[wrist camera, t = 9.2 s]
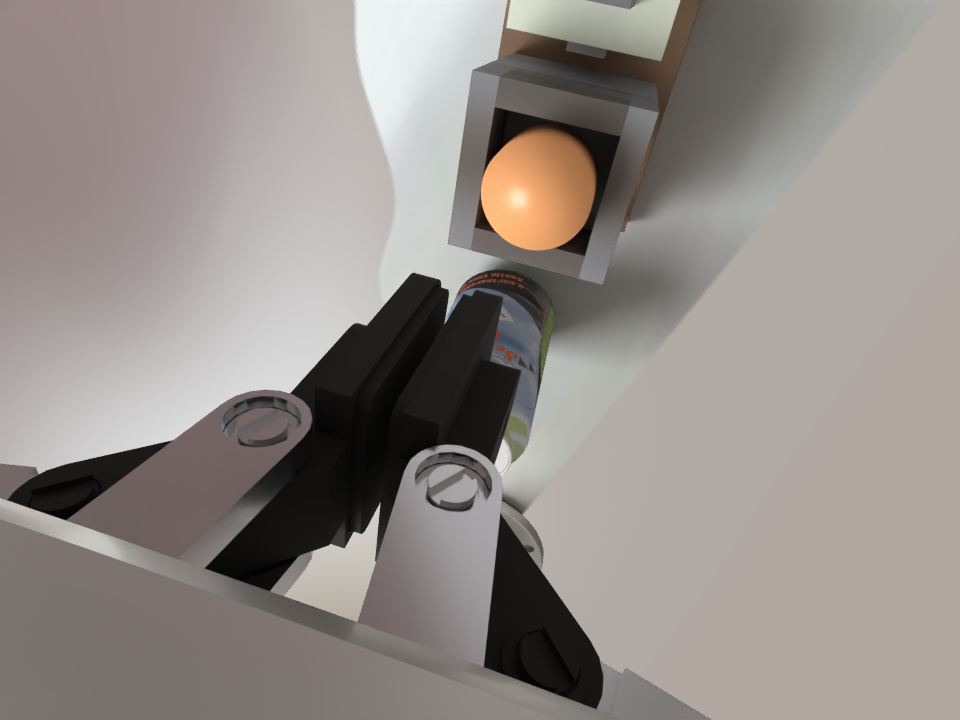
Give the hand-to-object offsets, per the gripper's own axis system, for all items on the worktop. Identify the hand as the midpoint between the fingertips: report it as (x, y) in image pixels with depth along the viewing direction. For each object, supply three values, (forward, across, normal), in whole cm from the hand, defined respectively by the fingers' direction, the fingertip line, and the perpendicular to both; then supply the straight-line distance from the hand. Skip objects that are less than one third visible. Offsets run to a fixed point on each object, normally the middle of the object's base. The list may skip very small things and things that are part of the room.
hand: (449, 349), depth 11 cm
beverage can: (+21, +1, +11) cm, 24 cm away
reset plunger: (+13, 0, 0) cm, 13 cm away
